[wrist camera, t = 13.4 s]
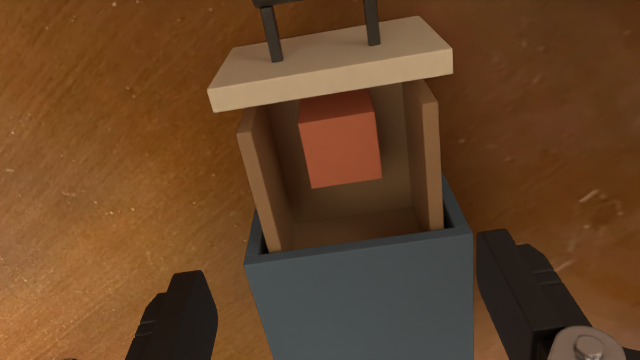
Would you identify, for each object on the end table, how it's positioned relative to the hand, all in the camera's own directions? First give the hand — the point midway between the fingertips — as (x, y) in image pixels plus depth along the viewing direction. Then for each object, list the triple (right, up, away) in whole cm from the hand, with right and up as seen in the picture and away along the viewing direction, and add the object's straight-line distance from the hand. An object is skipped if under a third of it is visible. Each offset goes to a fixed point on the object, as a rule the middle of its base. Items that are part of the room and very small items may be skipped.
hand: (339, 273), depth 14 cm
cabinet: (+3, -3, +24) cm, 24 cm away
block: (+1, +6, +16) cm, 17 cm away
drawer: (0, +8, +17) cm, 18 cm away
